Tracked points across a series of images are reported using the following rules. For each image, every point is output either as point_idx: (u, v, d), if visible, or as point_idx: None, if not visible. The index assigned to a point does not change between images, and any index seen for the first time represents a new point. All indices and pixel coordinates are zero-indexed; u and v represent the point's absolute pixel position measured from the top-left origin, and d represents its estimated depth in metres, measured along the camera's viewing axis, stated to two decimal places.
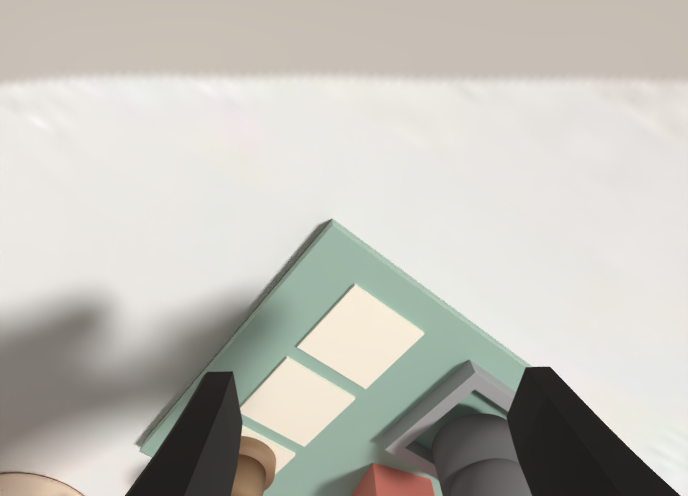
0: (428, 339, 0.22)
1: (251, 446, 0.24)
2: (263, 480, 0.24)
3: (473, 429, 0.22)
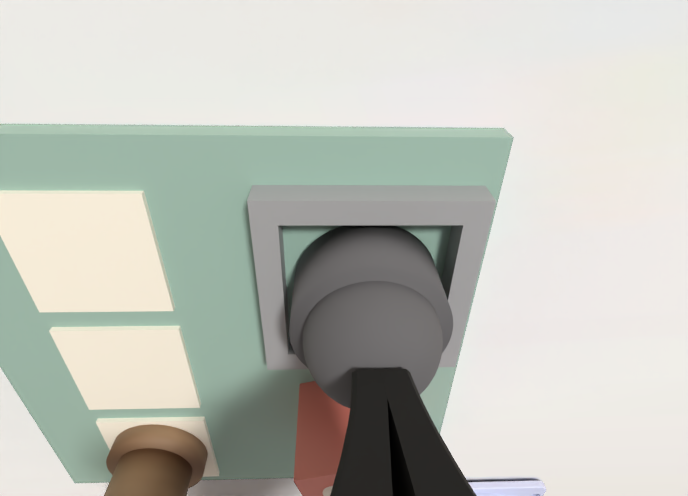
0: (165, 197, 0.13)
1: (135, 437, 0.18)
2: (169, 468, 0.18)
3: (304, 267, 0.13)
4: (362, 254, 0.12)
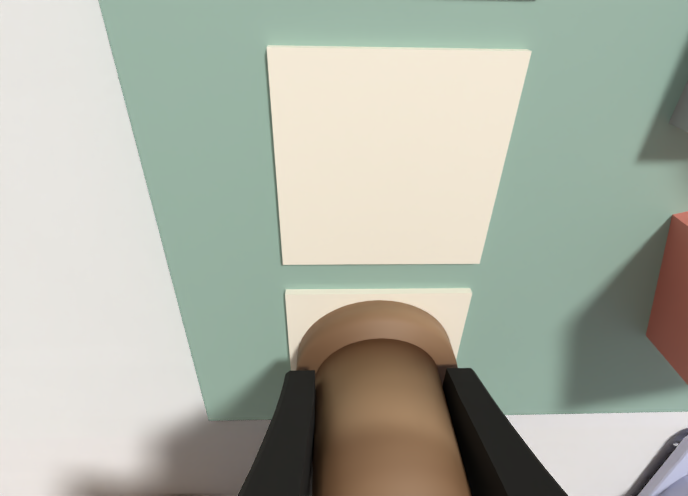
0: None
1: (361, 318, 0.10)
2: (428, 371, 0.10)
3: None
4: None
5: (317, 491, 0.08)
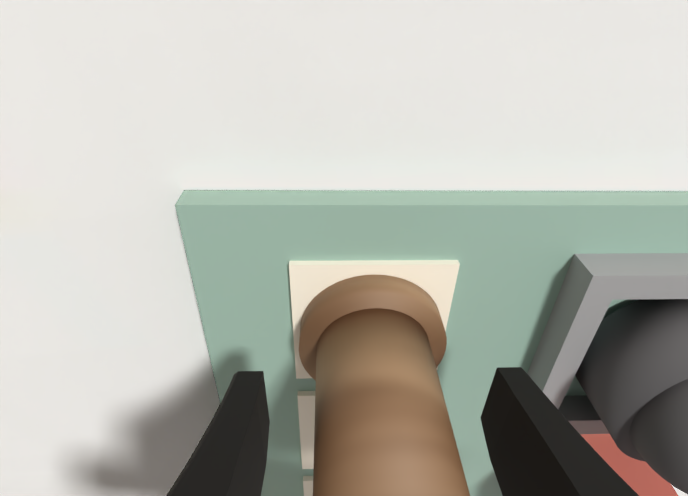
0: (477, 266, 0.12)
1: (359, 289, 0.11)
2: (419, 338, 0.11)
3: (624, 341, 0.12)
4: None
5: (319, 437, 0.09)
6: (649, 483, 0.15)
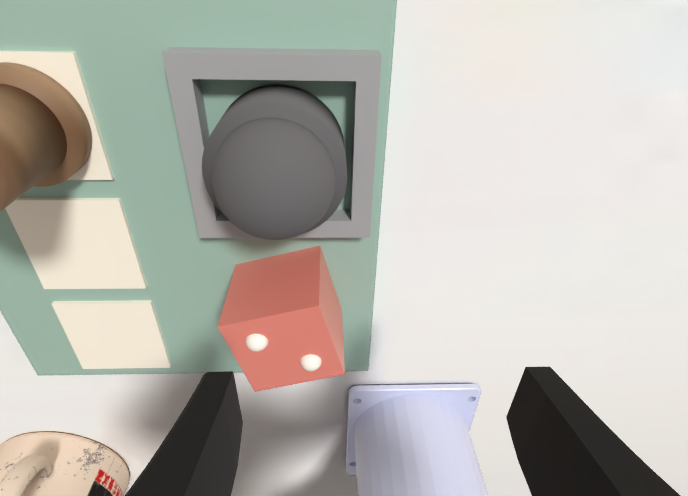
0: (95, 59, 0.14)
1: None
2: (24, 103, 0.14)
3: None
4: (262, 98, 0.13)
5: None
6: (304, 277, 0.17)
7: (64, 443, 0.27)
